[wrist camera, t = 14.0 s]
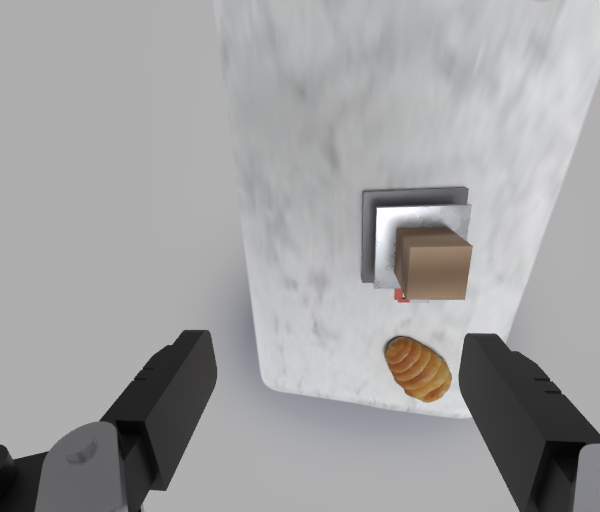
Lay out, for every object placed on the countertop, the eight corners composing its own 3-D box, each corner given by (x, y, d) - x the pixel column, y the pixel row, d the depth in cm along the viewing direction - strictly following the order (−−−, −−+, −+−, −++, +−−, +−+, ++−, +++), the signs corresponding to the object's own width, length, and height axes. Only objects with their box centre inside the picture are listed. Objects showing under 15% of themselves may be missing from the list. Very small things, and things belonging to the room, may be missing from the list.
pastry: (370, 351, 43) (374, 370, 40) (410, 323, 41) (418, 341, 38) (413, 392, 45) (420, 414, 42) (453, 368, 43) (464, 388, 40)
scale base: (363, 191, 36) (368, 201, 30) (464, 187, 34) (490, 197, 29) (361, 280, 39) (366, 303, 34) (453, 279, 38) (473, 303, 33)
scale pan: (374, 204, 33) (377, 208, 32) (463, 201, 32) (471, 205, 31) (372, 295, 37) (374, 303, 35) (451, 295, 36) (457, 303, 34)
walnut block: (396, 228, 32) (410, 247, 26) (447, 226, 32) (472, 246, 26) (394, 272, 34) (406, 299, 28) (442, 272, 33) (464, 299, 28)
